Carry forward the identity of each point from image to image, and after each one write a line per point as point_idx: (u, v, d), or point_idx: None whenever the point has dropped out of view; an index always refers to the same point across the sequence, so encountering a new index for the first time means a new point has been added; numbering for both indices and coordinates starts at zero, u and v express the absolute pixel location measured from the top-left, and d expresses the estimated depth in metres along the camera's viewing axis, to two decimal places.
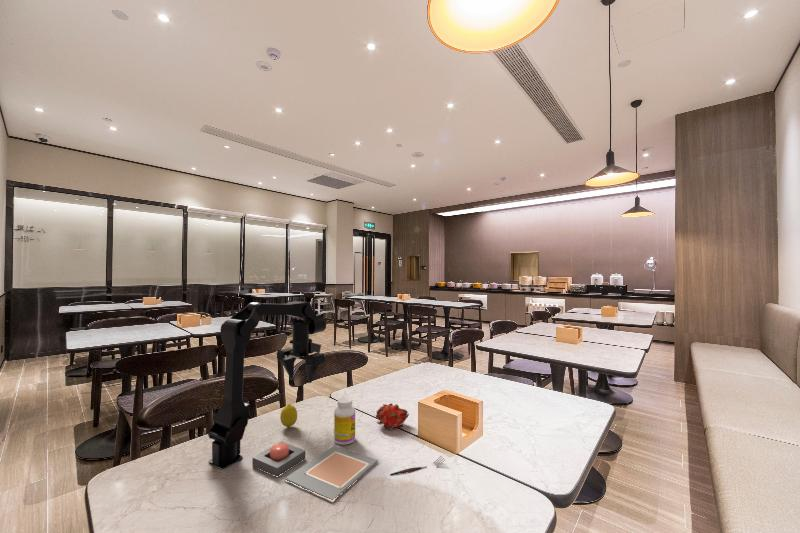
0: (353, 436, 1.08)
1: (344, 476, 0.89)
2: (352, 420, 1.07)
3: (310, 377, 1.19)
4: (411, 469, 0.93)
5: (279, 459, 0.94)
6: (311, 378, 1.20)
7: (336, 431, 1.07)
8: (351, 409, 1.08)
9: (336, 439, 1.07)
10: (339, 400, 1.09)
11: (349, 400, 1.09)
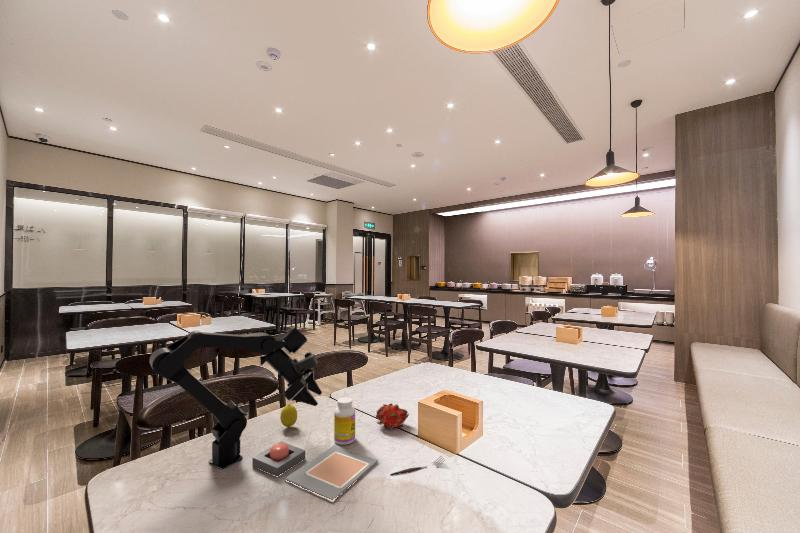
0: (353, 436, 1.08)
1: (344, 476, 0.89)
2: (352, 420, 1.07)
3: (309, 402, 1.03)
4: (411, 469, 0.93)
5: (279, 459, 0.94)
6: (312, 402, 1.03)
7: (336, 431, 1.07)
8: (351, 409, 1.08)
9: (336, 439, 1.07)
10: (339, 400, 1.09)
11: (349, 400, 1.09)
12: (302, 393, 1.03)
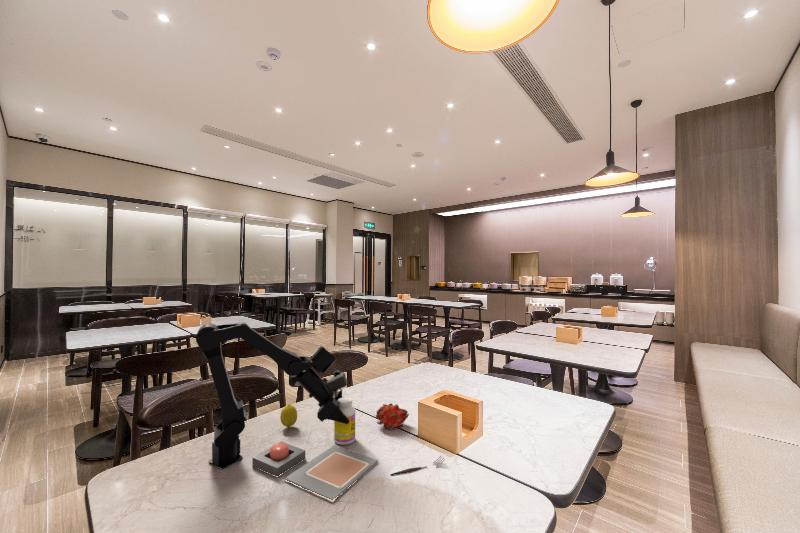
0: (353, 436, 1.08)
1: (344, 476, 0.89)
2: (352, 420, 1.07)
3: (341, 421, 1.05)
4: (411, 469, 0.93)
5: (279, 459, 0.94)
6: (344, 420, 1.05)
7: (336, 431, 1.07)
8: (351, 409, 1.08)
9: (336, 439, 1.07)
10: (339, 400, 1.09)
11: (349, 400, 1.09)
12: (334, 412, 1.04)
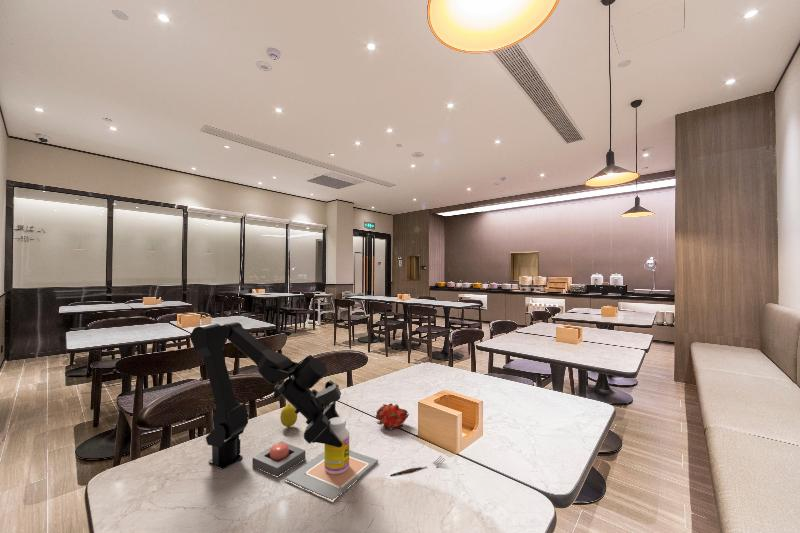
0: (347, 463, 0.91)
1: (344, 476, 0.89)
2: (345, 445, 0.91)
3: (333, 443, 0.87)
4: (411, 469, 0.93)
5: (279, 459, 0.94)
6: (336, 443, 0.87)
7: (326, 458, 0.90)
8: (344, 431, 0.92)
9: (326, 467, 0.90)
10: None
11: (342, 421, 0.93)
12: (324, 433, 0.87)
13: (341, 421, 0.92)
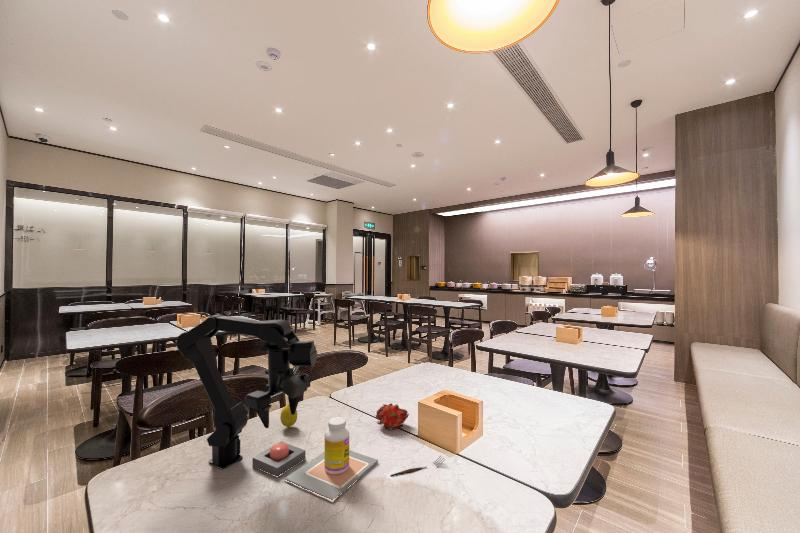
0: (347, 463, 0.91)
1: (344, 476, 0.89)
2: (345, 445, 0.91)
3: (262, 420, 0.92)
4: (411, 470, 0.93)
5: (279, 459, 0.94)
6: (264, 423, 0.92)
7: (326, 458, 0.90)
8: (344, 432, 0.92)
9: (326, 467, 0.90)
10: (330, 421, 0.92)
11: (342, 421, 0.92)
12: None
13: (341, 421, 0.92)
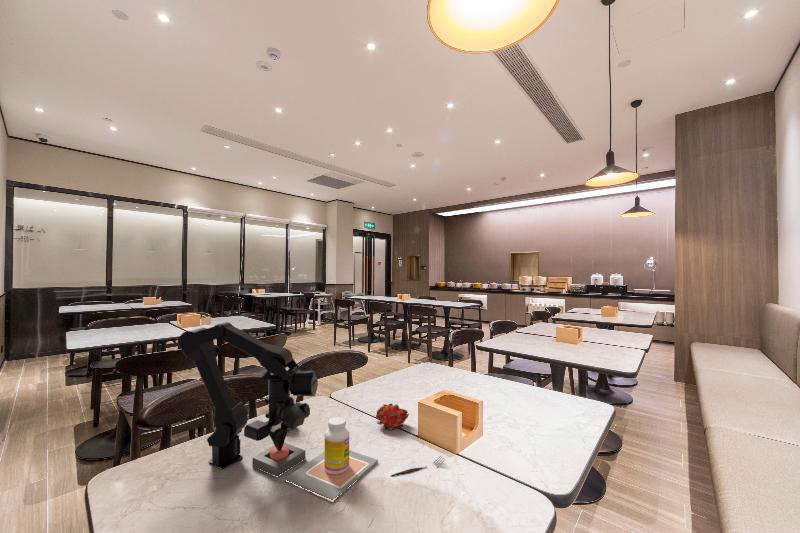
0: (347, 463, 0.91)
1: (344, 476, 0.89)
2: (345, 445, 0.91)
3: (274, 443, 0.96)
4: (411, 470, 0.93)
5: None
6: (276, 445, 0.96)
7: (326, 458, 0.90)
8: (344, 432, 0.92)
9: (326, 467, 0.90)
10: (330, 421, 0.92)
11: (342, 421, 0.92)
12: None
13: (341, 421, 0.92)
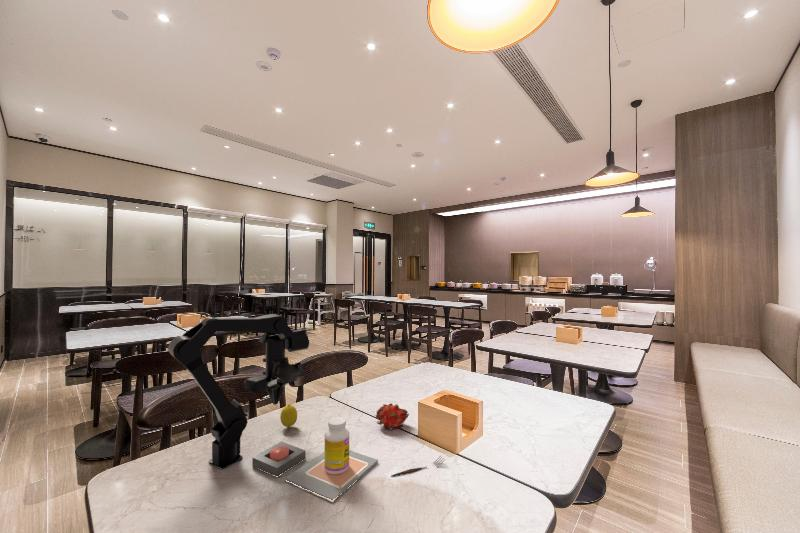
0: (347, 463, 0.91)
1: (344, 476, 0.89)
2: (345, 445, 0.91)
3: (271, 398, 1.07)
4: (412, 470, 0.93)
5: None
6: (273, 400, 1.07)
7: (326, 458, 0.90)
8: (344, 432, 0.92)
9: (326, 467, 0.90)
10: (330, 421, 0.92)
11: (342, 421, 0.92)
12: None
13: (341, 421, 0.92)
